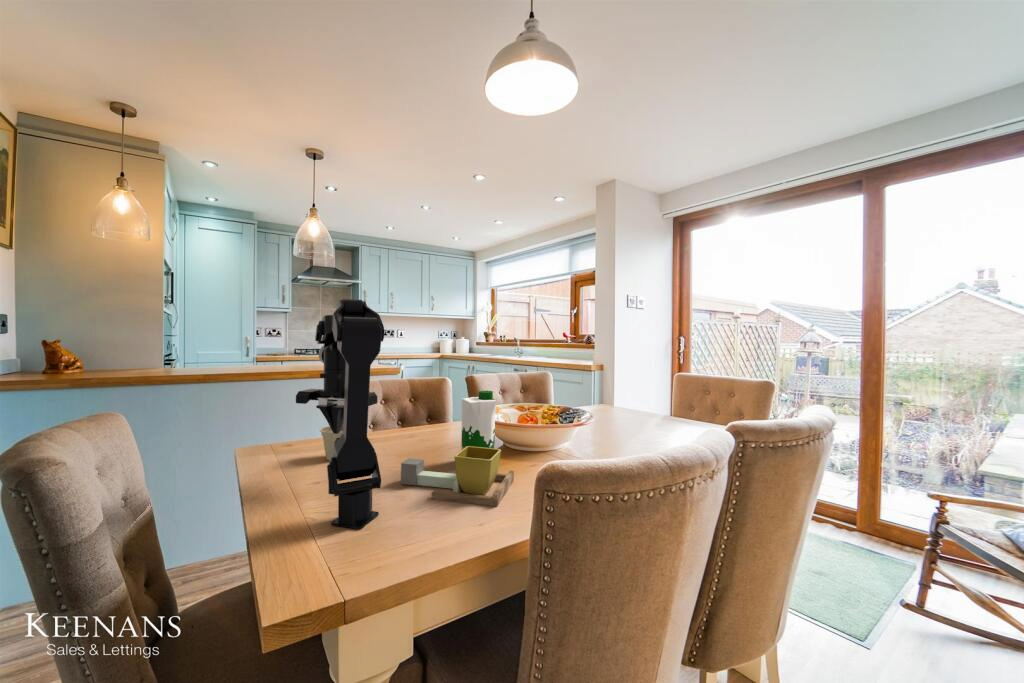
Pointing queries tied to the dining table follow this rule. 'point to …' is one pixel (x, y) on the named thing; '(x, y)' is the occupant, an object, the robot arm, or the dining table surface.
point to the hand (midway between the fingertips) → (336, 433)
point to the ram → (426, 476)
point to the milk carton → (479, 420)
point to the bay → (479, 499)
